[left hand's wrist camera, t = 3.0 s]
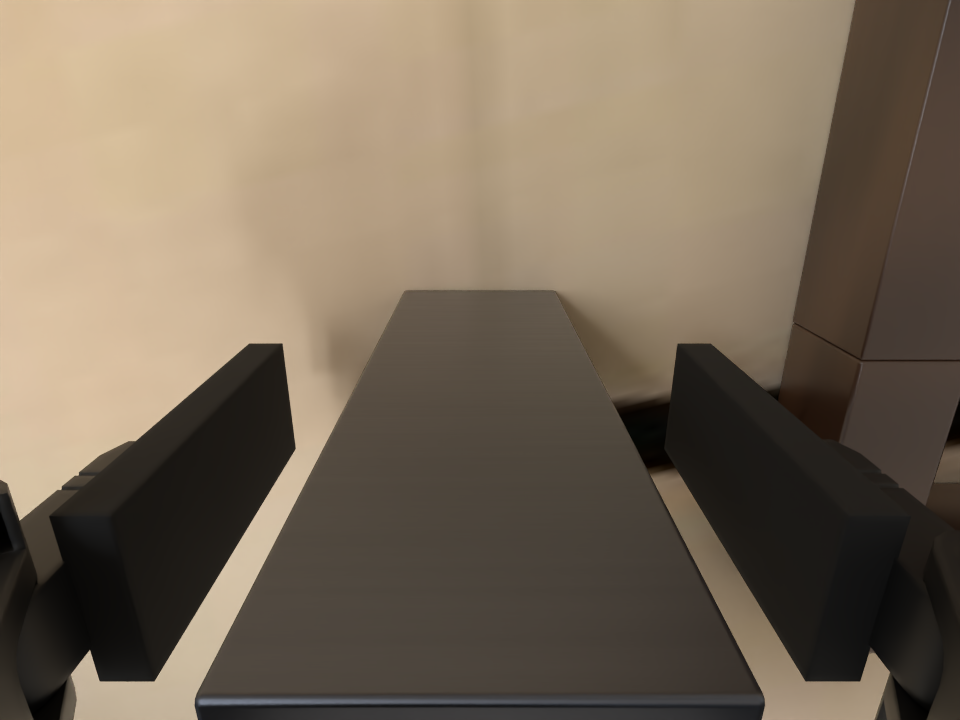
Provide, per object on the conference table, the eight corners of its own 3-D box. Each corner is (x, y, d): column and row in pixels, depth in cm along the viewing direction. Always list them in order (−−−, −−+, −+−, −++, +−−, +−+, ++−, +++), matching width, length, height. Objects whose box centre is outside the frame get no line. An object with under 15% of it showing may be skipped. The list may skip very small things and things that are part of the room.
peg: (549, 426, 17) (695, 1015, 5) (410, 426, 17) (263, 1016, 5) (555, 289, 15) (771, 700, 4) (404, 290, 15) (188, 700, 4)
